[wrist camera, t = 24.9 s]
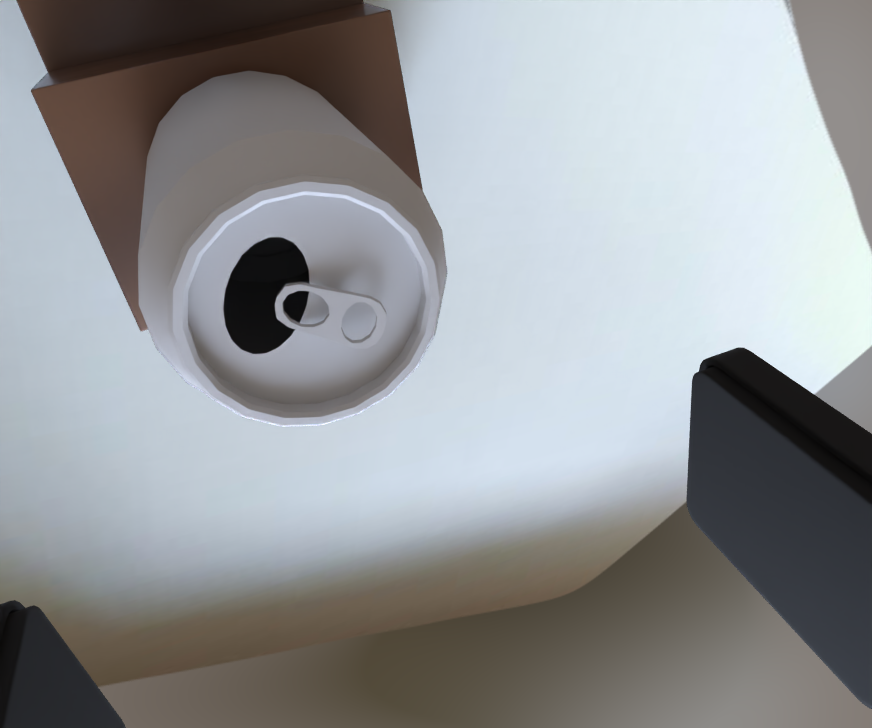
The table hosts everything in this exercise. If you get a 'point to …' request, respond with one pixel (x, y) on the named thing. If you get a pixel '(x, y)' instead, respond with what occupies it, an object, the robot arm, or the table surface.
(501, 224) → the table surface
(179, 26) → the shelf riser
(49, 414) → the table surface
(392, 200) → the can
